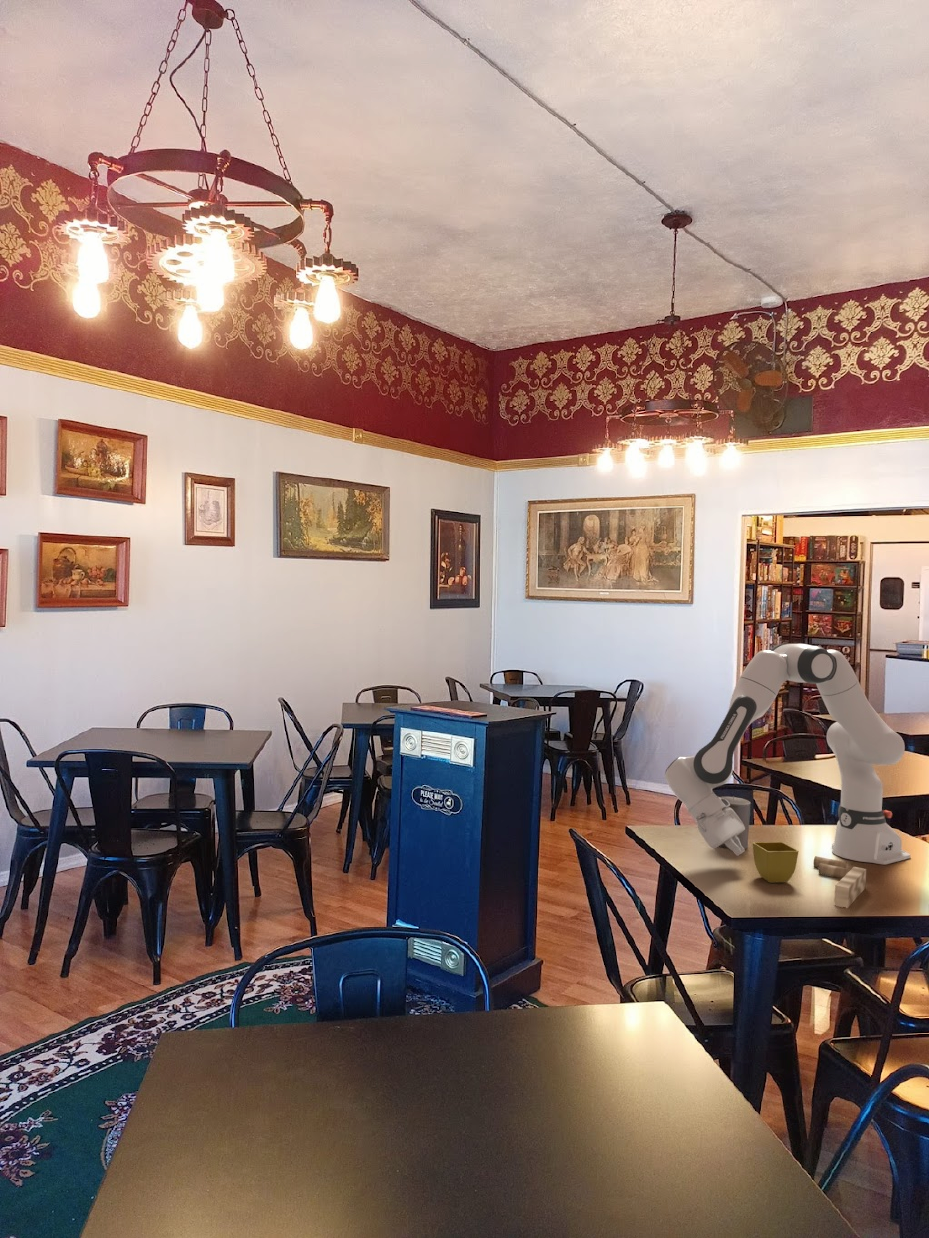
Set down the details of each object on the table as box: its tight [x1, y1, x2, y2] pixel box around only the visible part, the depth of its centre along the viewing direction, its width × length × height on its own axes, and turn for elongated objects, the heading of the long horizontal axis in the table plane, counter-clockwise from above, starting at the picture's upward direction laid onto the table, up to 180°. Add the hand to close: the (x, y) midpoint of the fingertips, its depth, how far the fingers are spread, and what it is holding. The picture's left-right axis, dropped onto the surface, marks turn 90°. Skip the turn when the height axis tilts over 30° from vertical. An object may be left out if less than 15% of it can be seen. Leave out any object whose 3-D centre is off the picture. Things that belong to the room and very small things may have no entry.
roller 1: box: [813, 855, 848, 869], centre depth 245 cm, size 8×3×3 cm
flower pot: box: [752, 841, 799, 884], centre depth 234 cm, size 9×9×9 cm
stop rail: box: [834, 866, 867, 909], centre depth 223 cm, size 20×3×5 cm, turn 144°
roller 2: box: [817, 863, 852, 880], centre depth 239 cm, size 8×3×3 cm
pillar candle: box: [719, 795, 751, 850], centre depth 266 cm, size 10×10×15 cm
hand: (741, 853), depth 239 cm, fingers closed
